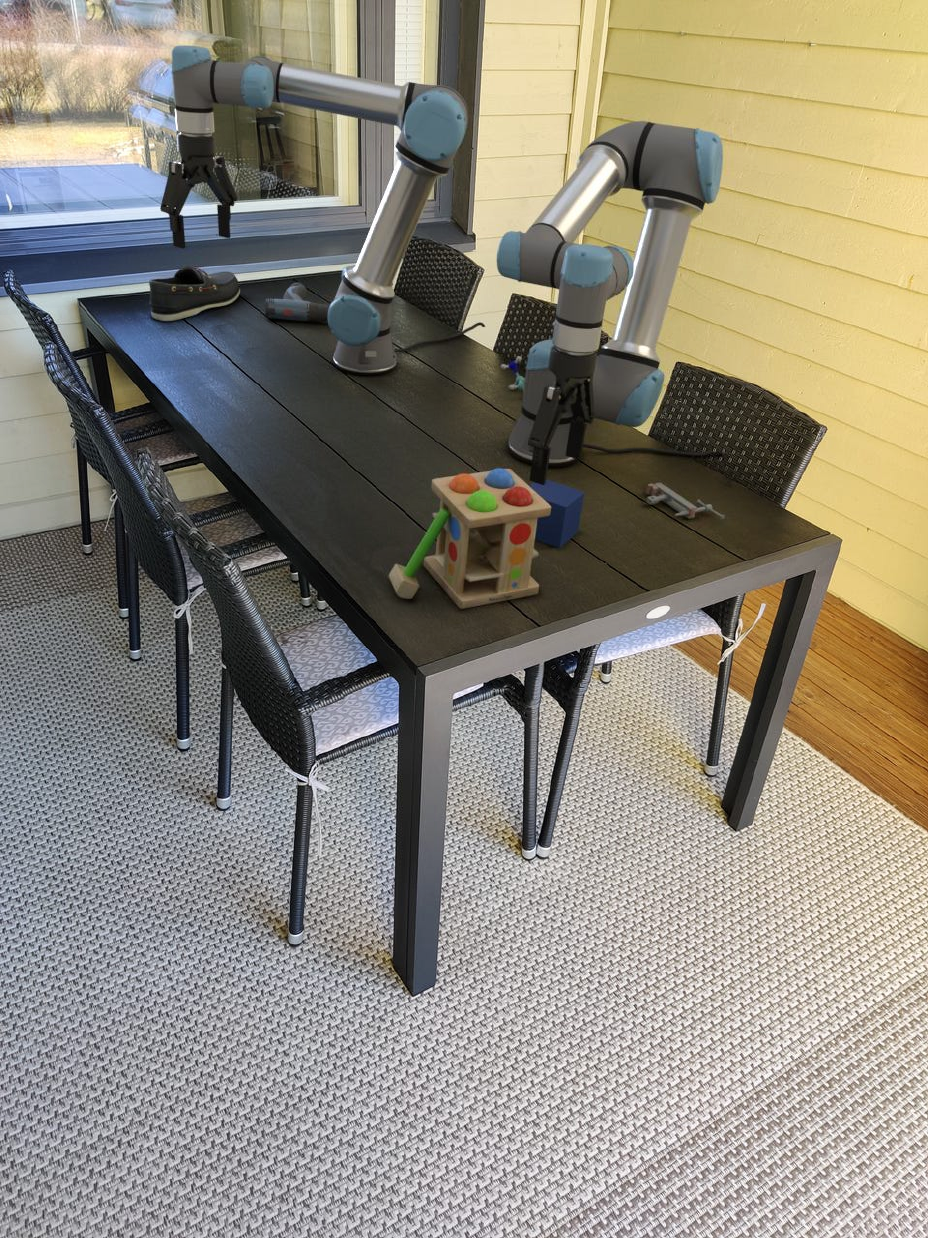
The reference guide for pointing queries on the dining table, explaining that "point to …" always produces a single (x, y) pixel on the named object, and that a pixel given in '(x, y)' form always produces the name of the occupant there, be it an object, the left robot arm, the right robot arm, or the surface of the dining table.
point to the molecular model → (519, 378)
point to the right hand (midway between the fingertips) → (555, 469)
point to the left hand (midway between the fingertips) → (202, 241)
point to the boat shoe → (191, 293)
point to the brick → (558, 513)
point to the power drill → (295, 306)
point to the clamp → (657, 495)
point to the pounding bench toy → (479, 539)
